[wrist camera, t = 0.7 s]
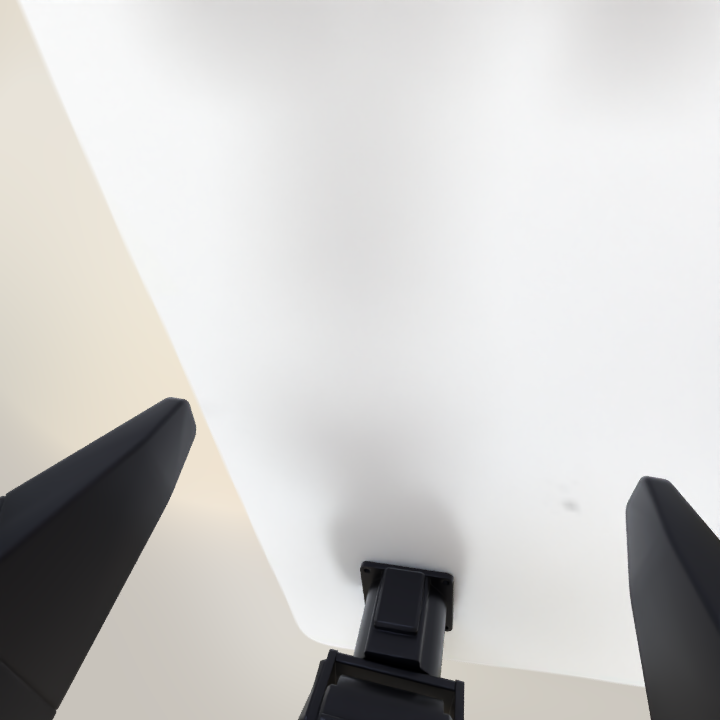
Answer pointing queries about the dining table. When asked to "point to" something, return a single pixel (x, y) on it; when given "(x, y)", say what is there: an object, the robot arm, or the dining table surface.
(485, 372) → the dining table surface
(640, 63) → the dining table surface
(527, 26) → the dining table surface
